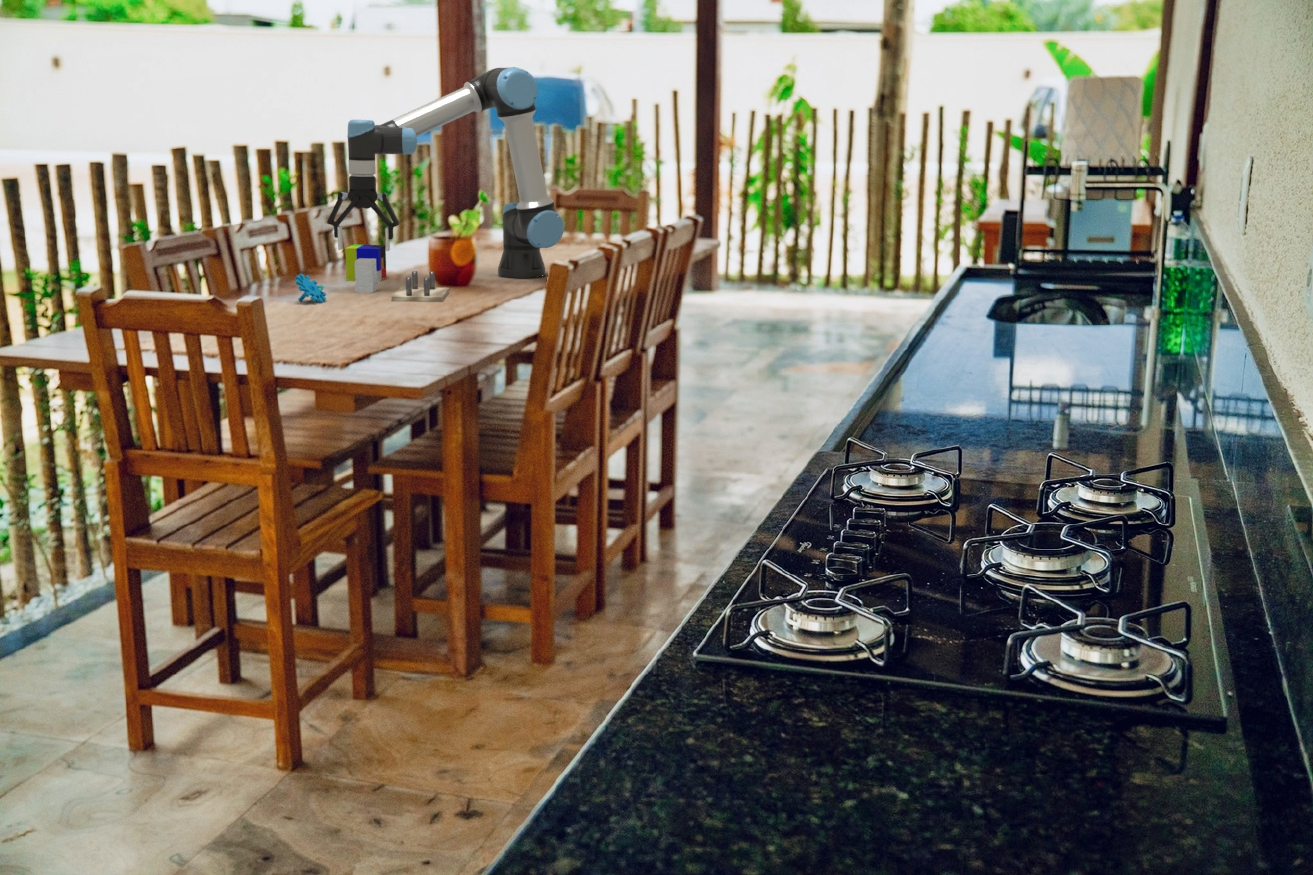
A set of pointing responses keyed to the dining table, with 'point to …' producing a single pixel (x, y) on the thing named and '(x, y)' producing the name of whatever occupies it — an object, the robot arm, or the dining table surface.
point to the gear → (310, 288)
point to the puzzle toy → (367, 253)
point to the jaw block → (365, 275)
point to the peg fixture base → (420, 290)
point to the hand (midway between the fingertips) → (364, 250)
